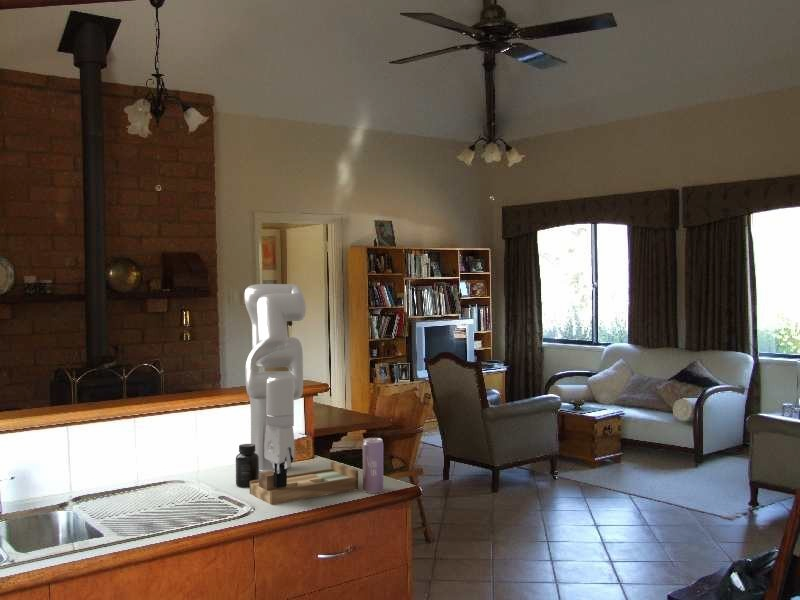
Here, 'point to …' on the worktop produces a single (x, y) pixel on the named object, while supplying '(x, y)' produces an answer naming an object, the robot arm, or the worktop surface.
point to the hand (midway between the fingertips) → (280, 486)
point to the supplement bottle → (247, 465)
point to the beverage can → (372, 465)
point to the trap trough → (309, 484)
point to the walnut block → (267, 480)
